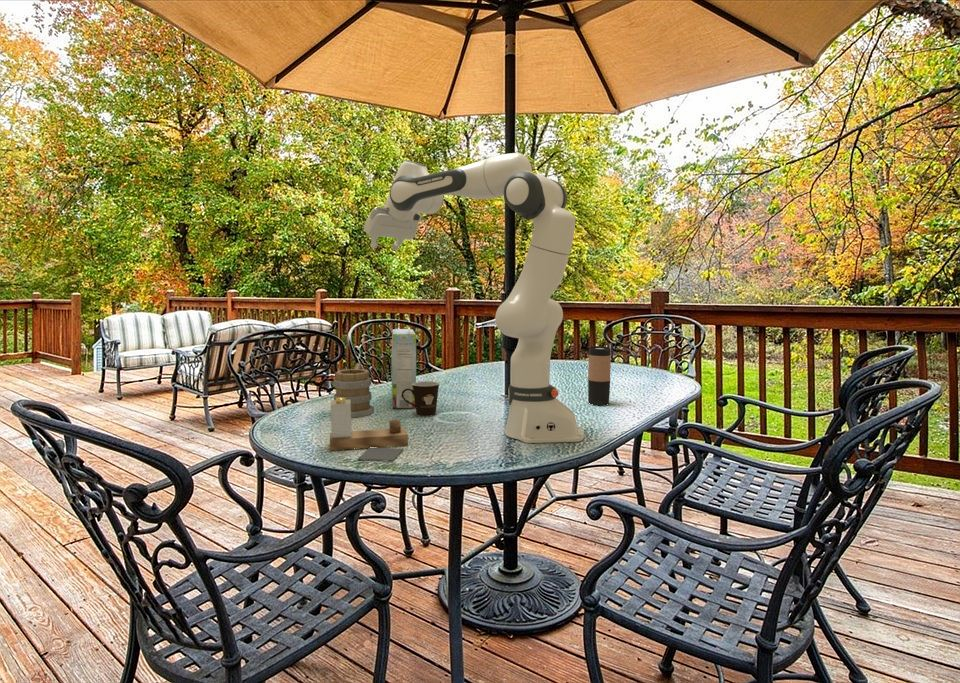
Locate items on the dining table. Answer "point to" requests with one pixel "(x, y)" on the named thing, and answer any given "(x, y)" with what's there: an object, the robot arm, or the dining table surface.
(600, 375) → the travel mug
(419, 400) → the coffee mug
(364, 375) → the tankard
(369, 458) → the mat
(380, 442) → the body
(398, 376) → the snack box
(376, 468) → the dining table surface
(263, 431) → the dining table surface
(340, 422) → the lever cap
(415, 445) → the dining table surface
